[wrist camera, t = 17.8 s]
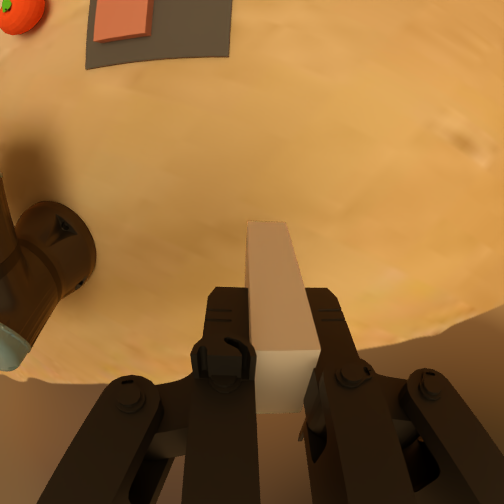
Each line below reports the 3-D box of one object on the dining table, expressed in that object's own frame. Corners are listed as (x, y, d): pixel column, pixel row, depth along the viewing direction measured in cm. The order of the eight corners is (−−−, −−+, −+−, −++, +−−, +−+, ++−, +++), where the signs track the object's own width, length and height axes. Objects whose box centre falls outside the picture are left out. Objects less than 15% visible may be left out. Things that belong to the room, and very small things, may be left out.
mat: (87, 69, 29) (85, 69, 29) (96, -29, 22) (94, -30, 21) (228, 56, 30) (228, 56, 30) (235, -47, 23) (235, -49, 22)
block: (150, 35, 28) (101, 43, 27) (157, -27, 23) (108, -18, 23) (144, 32, 25) (93, 41, 25) (152, -33, 21) (100, -22, 21)
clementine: (13, 8, 22) (-16, 4, 15) (47, -20, 21) (20, -30, 14) (23, 45, 25) (-8, 44, 19) (58, 16, 24) (29, 9, 18)
